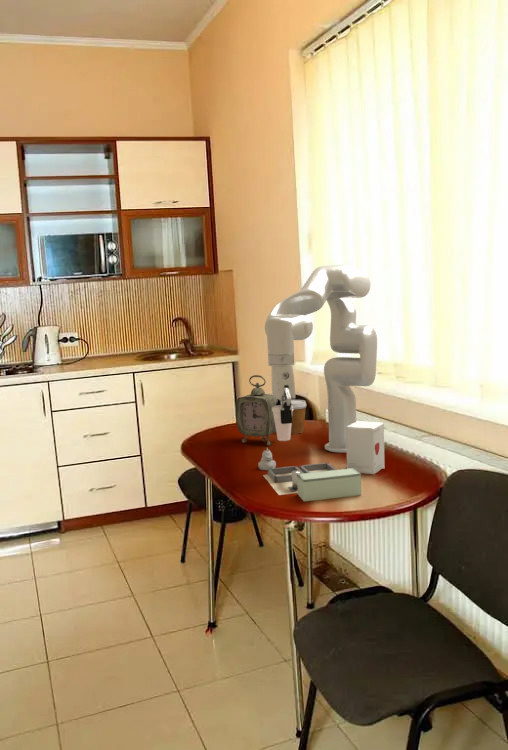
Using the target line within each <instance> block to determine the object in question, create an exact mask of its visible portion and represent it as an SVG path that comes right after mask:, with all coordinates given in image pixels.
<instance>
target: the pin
mask: <svg viewBox="0 0 508 750" xmlns="http://www.w3.org/2000/svg"><path fill="white" fill-rule="evenodd" d="M297 474H300V471H298V470H295V471H292V489H295V490H298V484H297Z"/></svg>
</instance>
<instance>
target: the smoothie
mask: <svg viewBox="0 0 508 750" xmlns="http://www.w3.org/2000/svg"><path fill="white" fill-rule="evenodd" d="M283 399H286V398H283ZM283 403H284V402H283ZM291 407H292V411H293V410H294V409H293V406H291ZM280 410H282V409H281V405H278V406H273V407H272V411H273V415H274V421H275V427H276V432H275V433H276V437H277V440H278V441H280V442H286V441H290V440H291V435H292V434H291V424H292V423H288V424H282V423H281V411H280Z"/></svg>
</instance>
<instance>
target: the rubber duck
mask: <svg viewBox="0 0 508 750" xmlns="http://www.w3.org/2000/svg"><path fill="white" fill-rule="evenodd" d="M276 466H277V463H276V460H274V459H273V453H272V452H271V450H270V449H269V448H268V447H266V450H265V449H264V450H263V451H262V453H261V458H260V461H259V462H258V469H259V470H261V471H268V469H272V468H277V467H276Z"/></svg>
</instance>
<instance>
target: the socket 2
mask: <svg viewBox="0 0 508 750" xmlns="http://www.w3.org/2000/svg"><path fill="white" fill-rule="evenodd" d="M299 469H300V470H301V471H302V472H303V473H310V472H309V471H314V470H324V469H327V470H328V471H329V470H337V468H335V467H334V466H333V465H332V464H331V463H330V462H323V463H322V462H321V463H311V464H304V465H302V464H301V465H299Z"/></svg>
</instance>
